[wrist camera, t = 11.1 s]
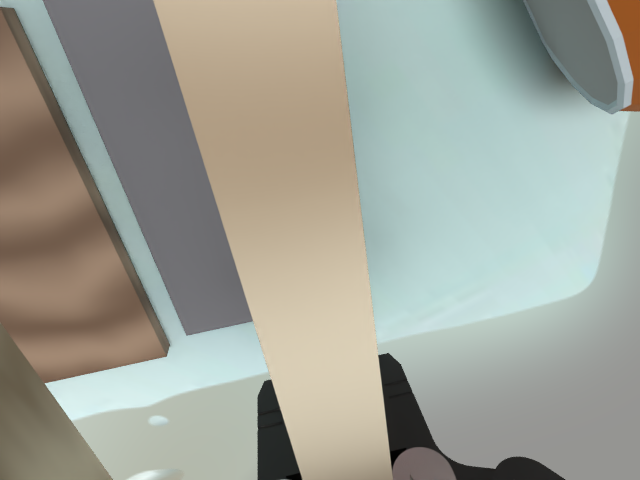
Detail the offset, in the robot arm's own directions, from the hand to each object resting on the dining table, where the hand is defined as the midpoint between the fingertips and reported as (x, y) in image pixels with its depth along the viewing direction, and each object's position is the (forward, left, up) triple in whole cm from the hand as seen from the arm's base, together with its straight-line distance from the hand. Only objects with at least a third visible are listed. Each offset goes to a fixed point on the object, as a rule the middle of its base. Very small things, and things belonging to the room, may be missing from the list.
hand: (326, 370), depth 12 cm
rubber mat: (-1, -5, -21) cm, 22 cm away
